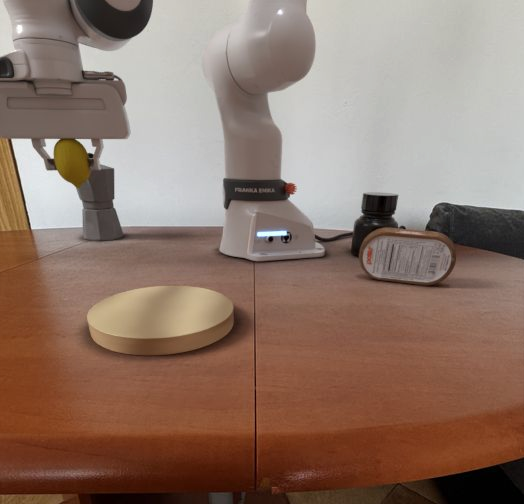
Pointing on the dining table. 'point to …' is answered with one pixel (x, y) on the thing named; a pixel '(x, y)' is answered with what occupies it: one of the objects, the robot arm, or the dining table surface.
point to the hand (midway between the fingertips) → (74, 170)
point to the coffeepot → (99, 206)
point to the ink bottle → (374, 217)
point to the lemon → (72, 161)
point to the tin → (407, 256)
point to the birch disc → (160, 320)
